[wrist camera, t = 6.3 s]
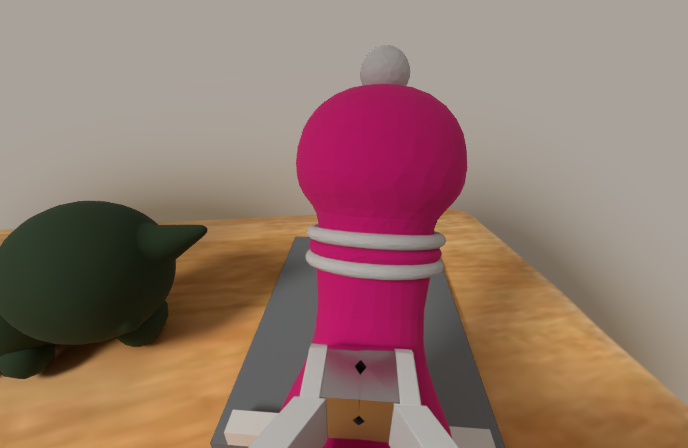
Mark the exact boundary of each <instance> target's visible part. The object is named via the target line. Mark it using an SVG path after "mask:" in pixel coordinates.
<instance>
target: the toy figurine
mask: <svg viewBox="0 0 688 448" xmlns="http://www.w3.org/2000/svg"><path fill="white" fill-rule="evenodd" d="M206 233H207V228H206V227H205V226H203V225H158V224H157V223H156V222H154V221H153V220H152V219H151V218H149V217H148V216H146V215H145V214H143V213H141V212H139V211H137V210H134V209H132V208H130V207H126V206H123V205H119V204H115V203H110V202H104V201H78V202H73V203H68V204H63V205H58V206H56V207H53V208H50V209H48V210H46V211H44V212H41V213H39V214H37V215H35V216H33V217H31V218H30V219H28V220H26V221H25V222H24V223H22V224H21V225H20V226H19V227H18V228H16V229H15V230H14V231H13V232H12V233H11V234H10V235H9V236H8V237H7V238H6V239H5V240H4V242H3V243H2V245H1V247H0V372H1V373H2V375H3V376H5V377H11V378H17V379H26V378H29V377H31V376H34V375H36V374H38V373H40V372H41V371H42V370H43V369H44V368H46V367H47V366H48V364H49V363H50V362H51V361H52V359H53V358H54V357H55V348H54V346H53V344H66V345H80V344H89V343H96V342H101V341H105V340H109V339H112V338H115V337H118V339H119V340H120V341H121V342H122V343H124V344H125V345H129V346H132V347H140V346H142V345H145V344H147V343H150V342H152V341H153V340H154V339H155V338H156V337H157V336H158V334H159V333H160V332H161V330H162V329H163V326H164V324H165V322H166V320H167V317H168V305H167V302H166V301H165V299H166V297H167V296H168V294H169V292H170V290H171V287H172V284H173V281H174V277H175V270H176V259H177V258H178V257H179V256H180V255H181V254H183V253H184V252H185V251H186V250H187V249H189V248H190V247H191V246H192V245H193V244H195V243H196V242H197V241H198V240H199V239H201V238H202V237H203V236H204V235H205V234H206Z"/></svg>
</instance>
